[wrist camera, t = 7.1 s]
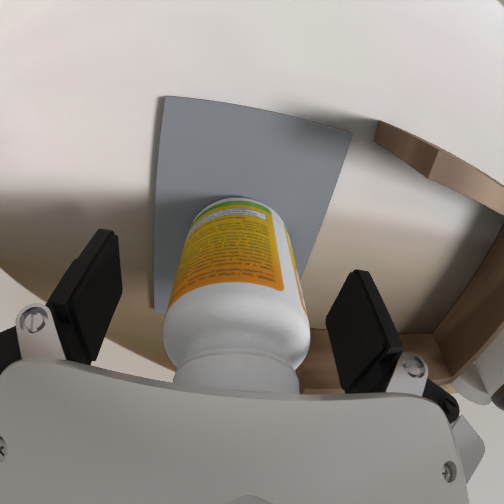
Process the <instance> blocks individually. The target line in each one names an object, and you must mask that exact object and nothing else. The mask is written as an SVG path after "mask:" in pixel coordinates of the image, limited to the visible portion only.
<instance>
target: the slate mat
mask: <svg viewBox="0 0 504 504" xmlns="http://www.w3.org/2000/svg"><path fill="white" fill-rule="evenodd" d="M351 138H352V134H351V133H349V132H346V131H343V130H340V129H336V128H333V127H330V126H326V125H323V124H319V123H316V122H312V121H309V120H305V119H301V118H297V117H293V116H289V115H285V114H280V113H276V112H272V111H267V110H262V109H257V108H252V107H247V106H242V105H236V104H230V103H224V102H217V101H210V100H203V99H195V98H186V97H177V96H165V103H164V110H163V117H162V125H161V134H160V143H159V153H158V164H157V177H156V192H155V212H154V255H153V265H154V308H155V313H157V314H162V315H166V312H167V308H168V304H169V300H170V296H171V292H172V288H173V285H174V281H175V277H176V273H177V270H178V266H179V263H180V259H181V255H182V252H183V248H184V245H185V241H186V238H187V234H188V231H189V229H190V226H191V224H192V222H193V220H194V219H195V218H196V216H197V215H198V214H199V213H200V212H201V211H202V210H203V209H205V208H206V207H207V206H209V205H211V204H213V203H215V202H217V201H219V200H223V199H227V198H247V199H252V200H256V201H258V202H261V203H263V204H265V205H267V206H268V207H270V208H271V209H273V210H274V211H275V212H276V213H277V214H278V215H279V216H280V218H281V219H282V220H283V222H284V224H285V226H286V228H287V231H288V234H289V237H290V241H291V245H292V249H293V254H294V258H295V262H296V267H297V271H298V276H299V280H300V279H301V276H302V274H303V271H304V269H305V266H306V264H307V261H308V259H309V256H310V254H311V251H312V248H313V246H314V243H315V241H316V238H317V235H318V233H319V230H320V227H321V225H322V222H323V219H324V217H325V214H326V211H327V208H328V206H329V203H330V200H331V197H332V194H333V192H334V189H335V186H336V183H337V180H338V177H339V174H340V171H341V168H342V166H343V163H344V160H345V157H346V154H347V150H348V147H349V144H350V141H351Z"/></svg>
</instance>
